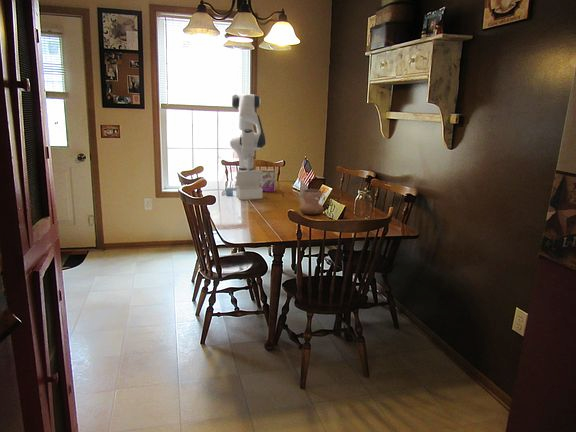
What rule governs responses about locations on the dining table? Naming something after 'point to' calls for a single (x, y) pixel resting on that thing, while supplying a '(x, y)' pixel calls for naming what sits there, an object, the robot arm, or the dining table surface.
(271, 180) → the candy bar box
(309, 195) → the ceramic jug
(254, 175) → the lid
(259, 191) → the carton
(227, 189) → the blue tapered cylinder
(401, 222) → the dining table surface
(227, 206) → the dining table surface
